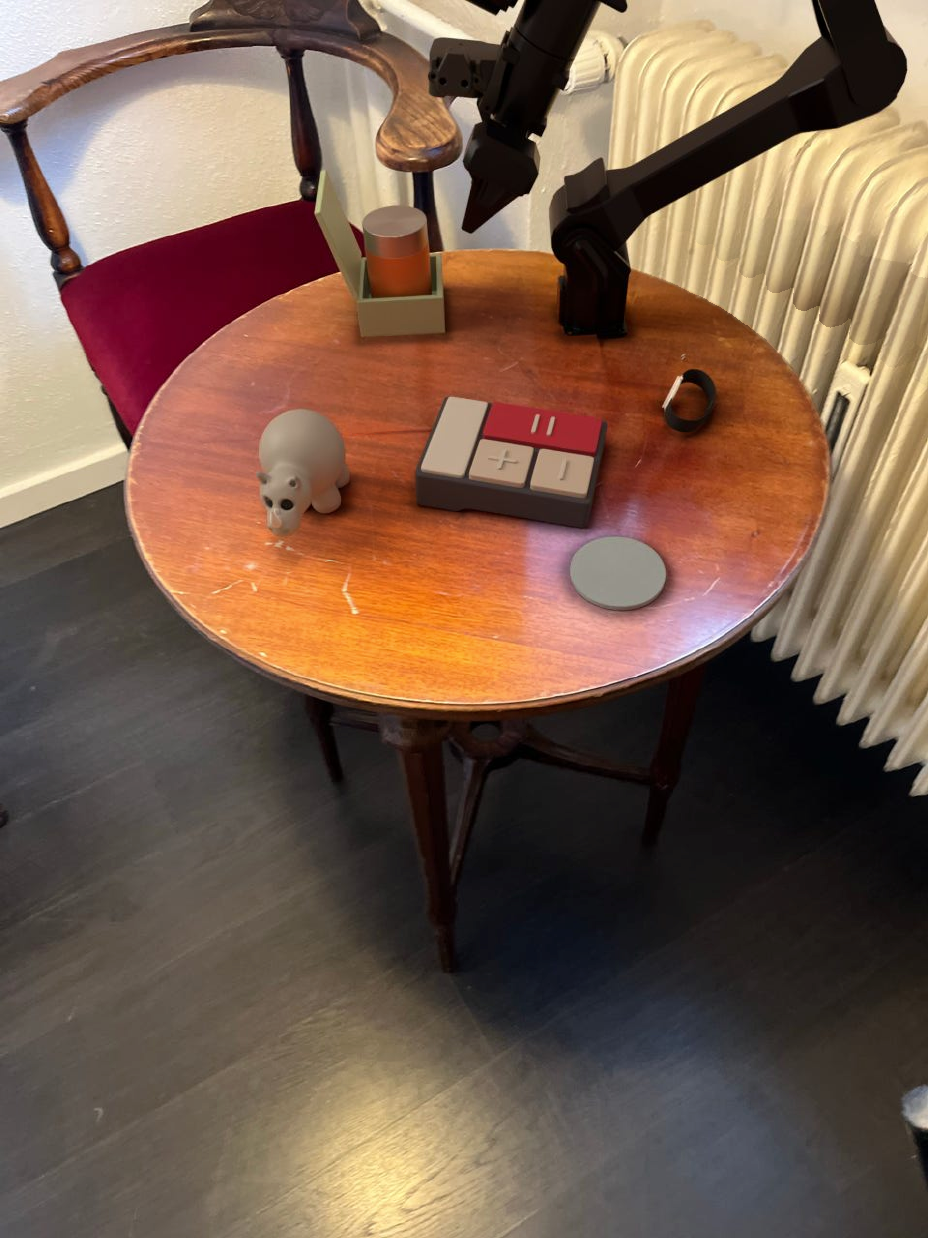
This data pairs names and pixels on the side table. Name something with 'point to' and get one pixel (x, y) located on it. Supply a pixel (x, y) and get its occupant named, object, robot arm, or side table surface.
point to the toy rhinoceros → (300, 468)
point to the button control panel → (511, 461)
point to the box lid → (338, 233)
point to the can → (397, 252)
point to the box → (402, 307)
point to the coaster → (618, 573)
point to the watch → (687, 377)
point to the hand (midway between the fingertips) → (471, 207)
